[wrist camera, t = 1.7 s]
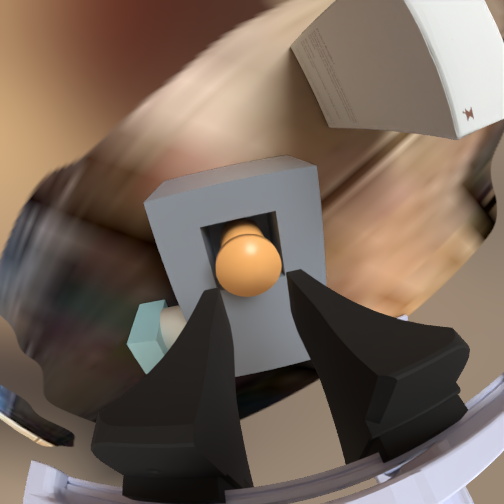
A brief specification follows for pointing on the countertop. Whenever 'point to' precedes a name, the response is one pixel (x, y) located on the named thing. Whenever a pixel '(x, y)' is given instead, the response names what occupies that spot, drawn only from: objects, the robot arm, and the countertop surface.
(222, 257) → the plunger
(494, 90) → the supplement box
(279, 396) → the countertop surface
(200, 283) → the housing
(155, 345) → the cartridge
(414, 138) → the countertop surface
